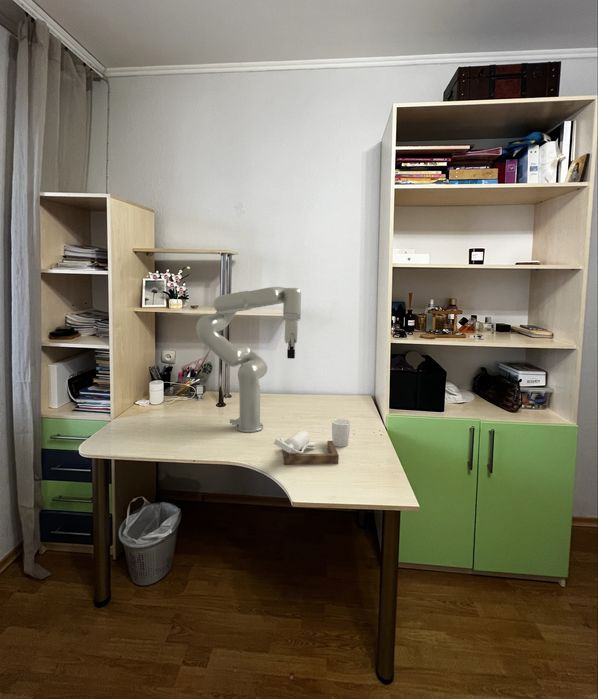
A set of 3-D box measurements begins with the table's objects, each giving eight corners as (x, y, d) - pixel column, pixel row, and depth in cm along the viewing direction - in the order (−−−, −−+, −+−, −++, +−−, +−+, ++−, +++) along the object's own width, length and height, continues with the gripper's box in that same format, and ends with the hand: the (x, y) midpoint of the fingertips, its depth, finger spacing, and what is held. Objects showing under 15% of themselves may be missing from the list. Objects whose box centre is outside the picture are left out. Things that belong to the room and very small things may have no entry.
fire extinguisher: (312, 454, 193) (297, 465, 169) (288, 439, 196) (270, 448, 172) (320, 440, 193) (306, 449, 169) (295, 425, 196) (278, 432, 172)
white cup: (348, 440, 202) (349, 418, 200) (350, 447, 194) (351, 425, 192) (330, 440, 201) (331, 418, 200) (332, 447, 194) (332, 424, 192)
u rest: (284, 464, 176) (284, 456, 175) (281, 449, 190) (282, 441, 190) (338, 463, 178) (338, 455, 177) (331, 448, 192) (332, 440, 192)
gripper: (282, 314, 206) (281, 354, 209) (284, 318, 191) (283, 361, 194) (298, 314, 206) (297, 354, 210) (302, 318, 192) (301, 361, 195)
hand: (291, 358), depth 202 cm, fingers closed
